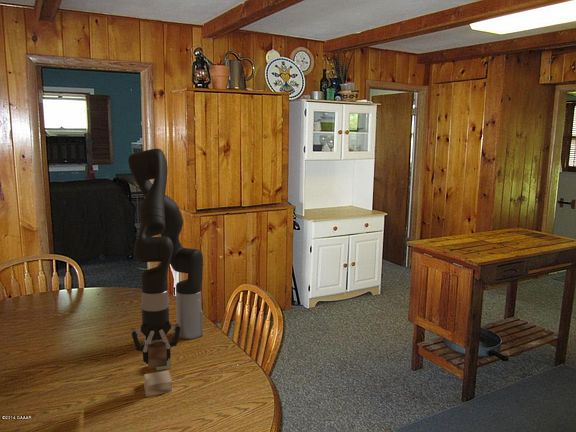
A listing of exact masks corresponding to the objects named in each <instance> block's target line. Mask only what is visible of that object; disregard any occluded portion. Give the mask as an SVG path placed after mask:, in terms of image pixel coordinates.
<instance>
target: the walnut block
mask: <svg viewBox="0 0 576 432" xmlns="http://www.w3.org/2000/svg"><path fill="white" fill-rule="evenodd" d="M147 366H148V369H153V368H155V369H156V367H162V366H167V348H166V344H164V342H163V339H162V340H154V341H151V343H150V345H149V347H148V364H147Z"/></svg>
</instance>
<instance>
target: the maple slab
mask: <svg viewBox="0 0 576 432" xmlns="http://www.w3.org/2000/svg"><path fill="white" fill-rule="evenodd" d="M143 375H144V383H145V387H146V392H147V395H151V396H153V395H152V394H157V395H159V394H158V393H162V394H165V393H164V392H168V393H171V392H170V391H172V389H173V380H172V377H171V374H170V372H169V370H163V371H162V370H161V371H156V372H151V373H145V374H143Z"/></svg>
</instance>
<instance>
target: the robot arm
mask: <svg viewBox="0 0 576 432" xmlns="http://www.w3.org/2000/svg"><path fill="white" fill-rule="evenodd" d="M127 161H128V167H129V170H130V173H131V175H132V177H133V179H134V181H135V182H136V185H137V186H138V188H139V190H140V192H141V193H142V195H143V197H144V198H143V199H142V201H141V203H140V207H139V230H138V235H137V238H136V240H135V243H134V247H133V255H134V258H135V259H136V261H138V262H139V263H154V262H155V263H157V262H158V263H159V264H158V265H156V266H155V267H152V268H148V269H146V270H143V272H142V273H141V301H140V303H141V305H140V306H141V326H140V327H139V328H136V329H135V328H132V329H131V330H130V332H131V336H132V340H133V343H134V346H135V350H136V351H137V352H141V353H142V360H143V363H145V364H146V365H148V347H149V345H150V343H151V341H155V340H163V342H164V344H166V348H167V361H168V359H170V357H171V358H172V355H170V353H171V349H172V347H176V346H178V345H177V344H178V340H179V338H180V339H183V340H191V339H196V338H199V337H202V336H204V310H202V284H203V278H204V277H203V275H204V274H203V272H204V255H203V252H202V251H201V250H200V249H197V248H188V247H184V246H183V245H182V244H181V242H180V234H181V232H182V229H183V225H184V219H183V215H182V213H181V210H180V208H179V206H178V203H176V201H175V200H173V199H172V198H171V197H169V195H167V194H166V190H167V182H168V169H169V167H168V162H167V157H166V155H165V153H164V151H163V150H162V149H161V148H151V149H146V150H141V151H137V152H134V153H131V154H130V155H129V156H128V160H127ZM151 180H153V182H151ZM159 235H160V236H159ZM170 266H171V268H172V269H173V271H175V272H177V273H181V274H187V279H184V280H181V281H178V282H177V283H176V284H175V297H176V299H175V306H176V307H175V308H176V323H175V324H171V322H170V298H169V297H170V295H169V291H168V290H169V288H168V286H169V284H168V275H169V267H170ZM170 331H171V332H172V336H171V340H170V341H169V340H168V337H167V334H168V333H169V332H170ZM141 333H142V334H143V336H145V337H144V341H143V343H142V344H140V341H139V337H140V336H141Z"/></svg>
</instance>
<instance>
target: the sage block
mask: <svg viewBox="0 0 576 432" xmlns="http://www.w3.org/2000/svg"><path fill="white" fill-rule="evenodd" d="M171 354H172V353H171V352H170V355H171ZM171 368H172V355H171V357H170V359H168V361H167V366H162V367H155V369H156V371H162V370H163V371H164V370H167V369H171Z"/></svg>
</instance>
